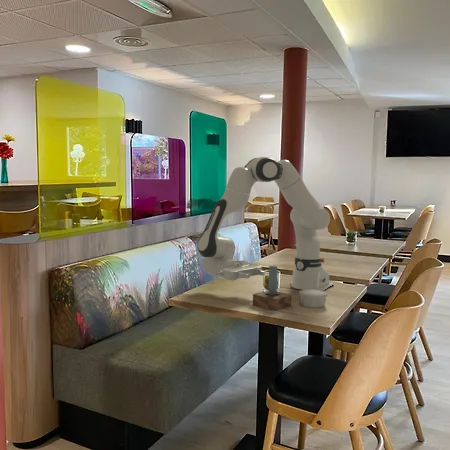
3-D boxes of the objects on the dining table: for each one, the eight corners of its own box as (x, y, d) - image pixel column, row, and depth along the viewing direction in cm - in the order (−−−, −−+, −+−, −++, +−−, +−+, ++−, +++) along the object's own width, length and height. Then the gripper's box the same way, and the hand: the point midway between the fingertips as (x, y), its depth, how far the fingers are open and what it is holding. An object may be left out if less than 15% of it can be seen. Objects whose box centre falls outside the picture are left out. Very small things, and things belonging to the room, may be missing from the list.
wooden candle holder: (270, 300, 194) (270, 289, 194) (291, 305, 186) (291, 295, 186) (252, 305, 186) (252, 294, 186) (273, 310, 179) (274, 299, 178)
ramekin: (296, 301, 194) (296, 289, 194) (322, 301, 195) (322, 289, 195) (302, 308, 183) (302, 295, 183) (330, 308, 184) (330, 295, 183)
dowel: (271, 304, 189) (272, 265, 187) (277, 305, 186) (278, 266, 185) (266, 305, 186) (267, 266, 185) (272, 307, 184) (273, 267, 183)
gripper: (215, 265, 194) (239, 270, 184) (247, 260, 208) (271, 264, 198) (214, 280, 194) (238, 285, 184) (247, 274, 209) (271, 279, 199)
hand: (255, 274), depth 192 cm, fingers open, 8 cm apart
